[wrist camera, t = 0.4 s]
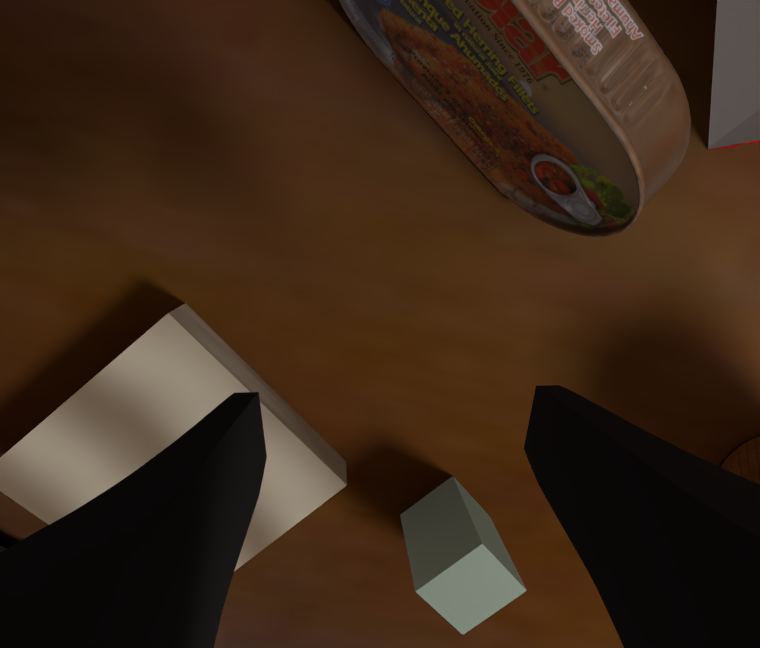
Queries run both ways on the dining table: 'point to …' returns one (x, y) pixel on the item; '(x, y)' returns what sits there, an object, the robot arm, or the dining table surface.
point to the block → (458, 557)
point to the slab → (168, 431)
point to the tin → (542, 98)
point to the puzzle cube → (736, 75)
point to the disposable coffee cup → (745, 460)
